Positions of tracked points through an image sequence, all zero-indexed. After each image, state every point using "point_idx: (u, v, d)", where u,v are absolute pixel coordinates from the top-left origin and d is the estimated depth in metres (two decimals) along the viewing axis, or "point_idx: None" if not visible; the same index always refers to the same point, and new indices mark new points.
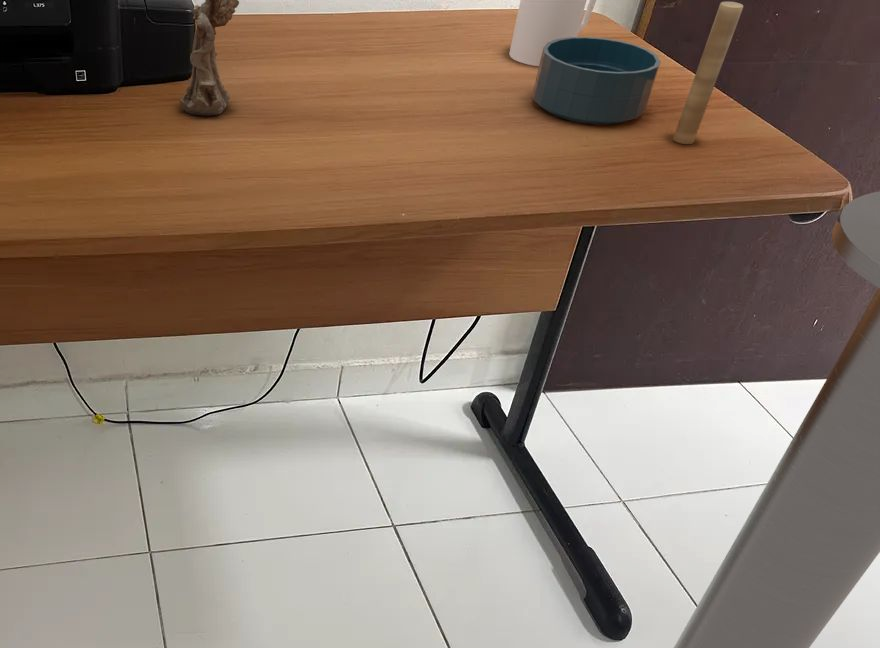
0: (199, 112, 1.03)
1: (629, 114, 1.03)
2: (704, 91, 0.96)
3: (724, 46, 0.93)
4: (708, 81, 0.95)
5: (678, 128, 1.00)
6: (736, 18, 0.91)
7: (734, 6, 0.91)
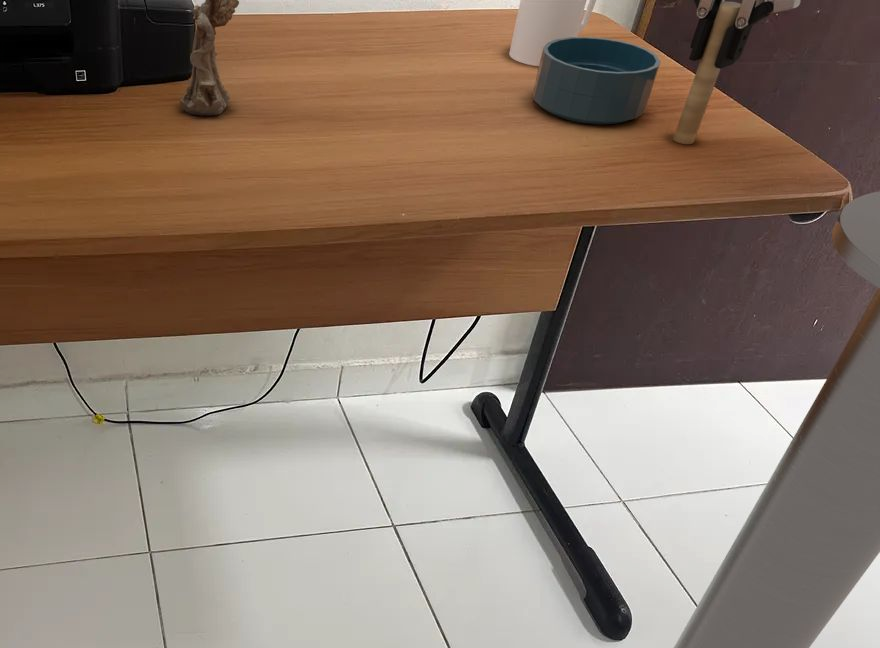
0: (199, 112, 1.03)
1: (629, 114, 1.03)
2: (704, 91, 0.96)
3: None
4: (708, 81, 0.95)
5: (678, 128, 1.00)
6: None
7: (734, 6, 0.91)
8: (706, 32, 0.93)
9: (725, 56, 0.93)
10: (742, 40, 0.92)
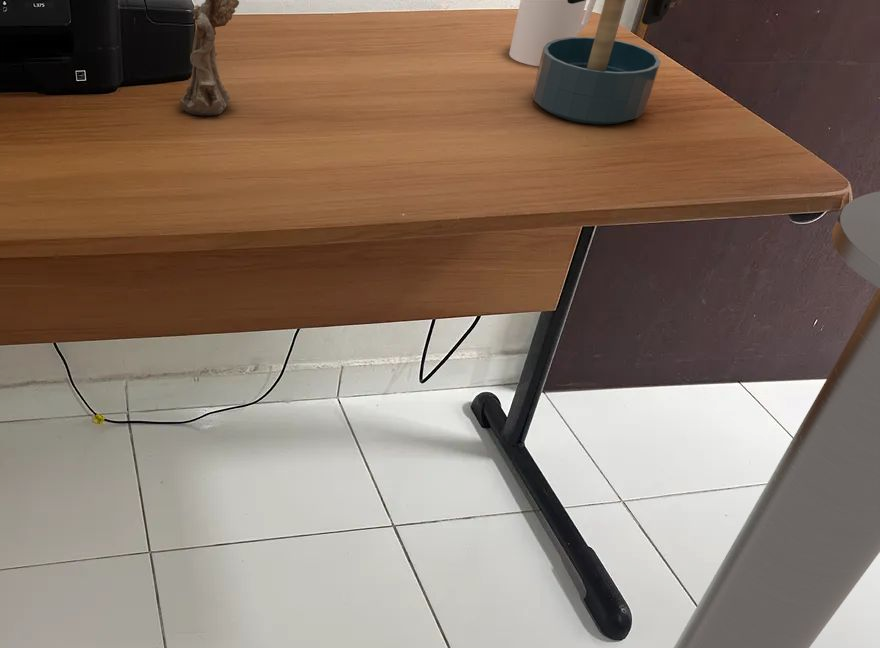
0: (199, 112, 1.03)
1: (629, 114, 1.03)
2: (602, 53, 1.03)
3: (618, 10, 1.00)
4: (605, 44, 1.02)
5: None
6: None
7: None
8: None
9: (651, 12, 0.96)
10: None
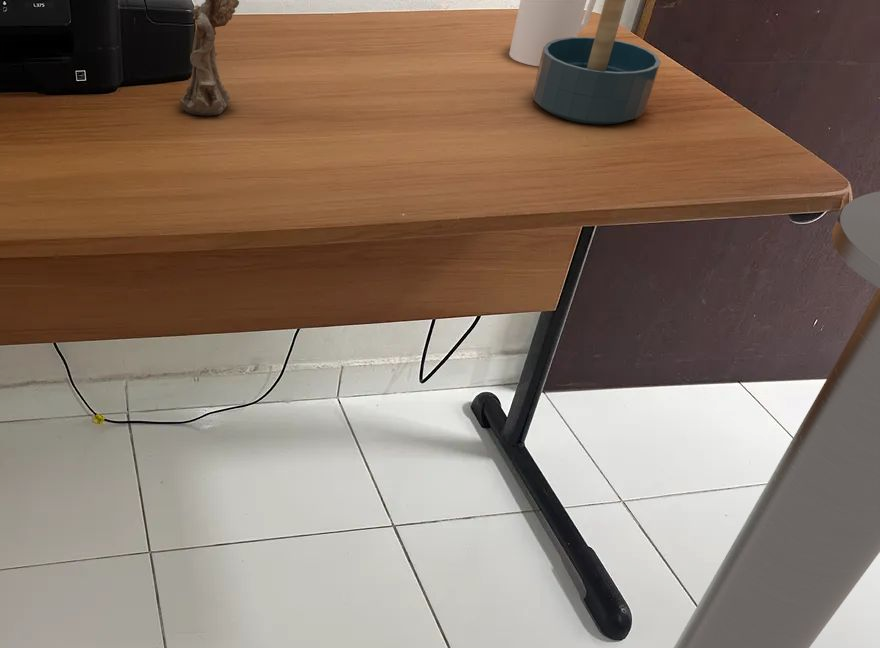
0: (199, 112, 1.03)
1: (629, 114, 1.03)
2: (602, 53, 1.03)
3: (618, 10, 1.00)
4: (605, 44, 1.02)
5: None
6: None
7: None
8: None
9: None
10: None
